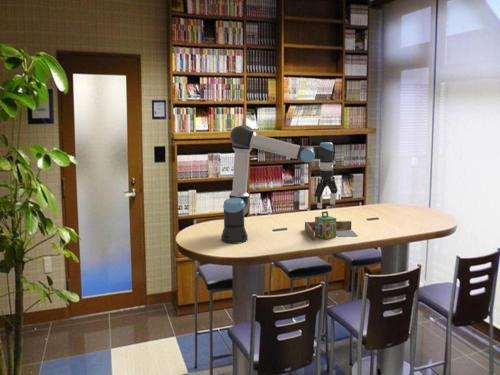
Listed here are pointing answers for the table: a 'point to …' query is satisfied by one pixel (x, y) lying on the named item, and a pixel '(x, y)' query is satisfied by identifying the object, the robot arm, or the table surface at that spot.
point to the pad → (345, 233)
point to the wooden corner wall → (339, 226)
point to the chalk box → (325, 226)
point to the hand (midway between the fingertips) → (326, 206)
